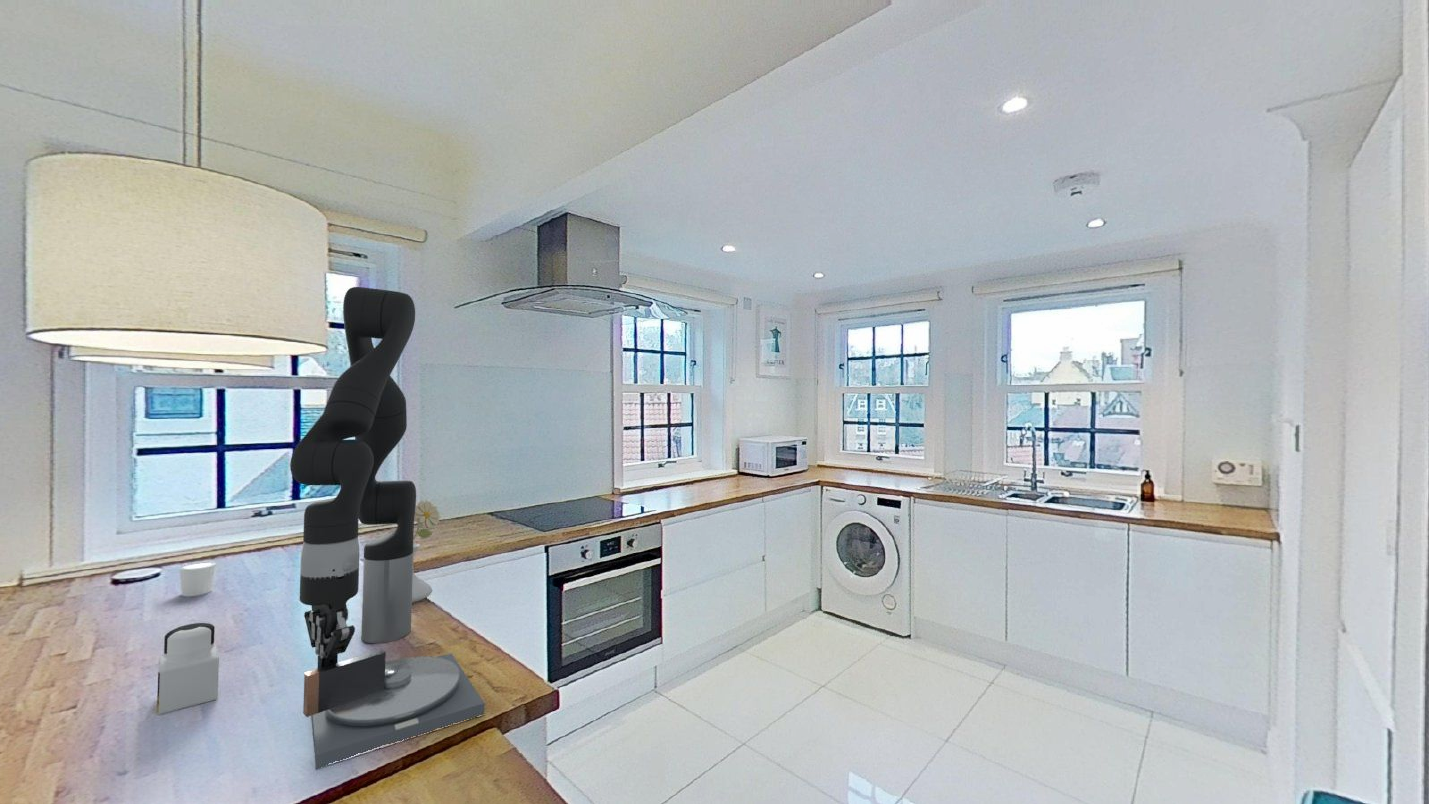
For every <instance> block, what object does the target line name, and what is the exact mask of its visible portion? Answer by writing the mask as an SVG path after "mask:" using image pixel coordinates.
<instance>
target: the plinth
mask: <svg viewBox="0 0 1429 804" xmlns="http://www.w3.org/2000/svg"><path fill="white" fill-rule="evenodd" d="M435 657H436V658H442V659H446V660H449V661H451V662H453V663H454V664H455V665H457V667H458V669H459V684H458V687H457V689H456V690H455V692H454V693H453V694H452V695H451V696H450V697H449V698H448V699H446V700H445V701H444V702H442V703H441V704H439V705H437V706H436V707H434V708H432V709H430V710H428V711H425V712H423V713H421V714H418V715H416V716H413V717H410V718H407V719H403V720H400V721H396V722H391V723H386V724H380V725H371V726H351V725H344V724H340V723H337V722H334V721H332V720H331V719H330V718H328V717H327V715H326V713H325V711H323V712H320V713H317V714H314V715H312V716H310V717H311V718H310V719H311V728H312V730H313V731H312V740H313V742H314V743H313V752H314V753H315V754H314V764H315V765H316V766H315V770H319V769H322V768H321V767H323V768H325V767H324V766H326V765H328V764H329V763H333V762H335V761H340V760H343V759H346V758H349V757H351V756H354V755H356V754H358V753H363V752H366V751H368V750H372V749H374V748H377V747H380V746H382V745H386V744H391V743H395V742H397V741H402V740H403V739H404V740H405V739H407V738H411V737H413V736H418V735H421V734H424V733H427V732H430V731H433V730H435V729H437V728H442V727H445V726H448V725H451V724H453V723H458V722H461V721H464V720H467V719H471V718H474V717H477V716H479V715H483V714H484V715H485V702H484V700H483V698H482V697H481V696H480V694H479V692H478V691H477V690H476V688H475V686H474V685H473V683H472V682H471V680H470V679H469V677H468V676H467V674H466V673H465V671H464V670H463V668H462V666H460V664H459V662H458V660H457V659H456V658H455V656H454V655H453V653H451V652H450V653H446V654H443V655H442V654H441V655H439V656H435ZM326 767H327V766H326ZM318 768H319V769H318Z"/></svg>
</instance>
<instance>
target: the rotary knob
mask: <svg viewBox="0 0 1429 804" xmlns="http://www.w3.org/2000/svg"><path fill="white" fill-rule="evenodd" d="M386 654H387V653H386V651H384V649H378V650H375V651H372V652H369V653H365V654H362V655H359V656H356V657H351V658H349V659H345V660H342V661H338V663H335V664H332V665H328V666H325V667H322V668H318V669H317V668H314V669H312V670H309V671H308V670H307V671H306V672H304V674H303V675H304V676H303V677H304V678H303V706H302V707H303V710H302V713H303V714H302V715H304V717H306V718H308V717H311V716H312V715H314V714H317V713H320V712H323V711H325V713H326V715H327V717H328V718H330V719H331V720H332V721H334V722H337V723H340V724H344V725H351V726H371V725H380V724H386V723H391V722H396V721H400V720H403V719H407V718H410V717H413V716H416V715H418V714H421V713H423V712H425V711H428V710H430V709H432V708H434V707H436V706H437V705H439V704H441V703H442V702H444V701H445V700H446V699H448V698H449V697H450V696H451V695H452V694H453V693H454V692H455V690H456V689H457V687H458V684H459V669H458V667H457V665H455V664H454V663H453V662H451V661H449V660H446V659H442V658H436V657H437V656H413V657H403V658H397V659H396V658H395V659H391V660H388V661H387V660H386Z"/></svg>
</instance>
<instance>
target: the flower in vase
mask: <svg viewBox="0 0 1429 804" xmlns="http://www.w3.org/2000/svg"><path fill="white" fill-rule="evenodd" d="M440 518H441V515H440V512H439V511H438V510H437V506H434V505H433V503H432V502H431V501H428V500H425V501H423V500H420V501H419V502H417V504H416V507H415V517H414V522H416V524H417V528H416V532H415V533H414V534H413V541H414V540H415V539H416V536H417V535H418V536H419V537H420V538H421V539H427V538H429V537H430V536H432V535H433V532H432V531H430V530H433V529H434V528H435V526H438V524H440V523H441V522H440ZM419 528H421V529H419ZM420 545H421V544H419V543H414V542H413V562H414V560H415V559H414V558H415V555H416V552H417V551H418V548H419V547H420ZM432 593H433V588H432V586H431V585H430V584H429V583H427V582H426V581H424V579H421V578H419V577H418V576H417V575H415V572H414V571H413V579H412V603H416V602H419V601H421V600H424V599H426V598H428V597H429V596H431V594H432Z"/></svg>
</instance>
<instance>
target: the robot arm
mask: <svg viewBox="0 0 1429 804" xmlns="http://www.w3.org/2000/svg"><path fill="white" fill-rule="evenodd" d="M342 315H343V317H342V318H343V324H344V327H343V328H344V333H345V339H346V345H347V351H348V358H349V363H350V365H349V367H348V368H347V369H346V370H345V371H344V372H342V373H341V374H340V375H339V377H338V378H337V379H336V380H335V382H334V384H333V386H332V388H331V390H330V394H329V396H328V398H327V401H326V404H325V407H324V409H323V412H322V414H321V415H320V417H318V419H317V420H316V421H315V423H314V424H313V425H312V426H311V428H310V429H309V430H308V431H307V433H306V434H305V435H304V436H303V437H302V439H301V440H300V441H299V442H298V443H297V445H296V447H295V448H294V451H293V453H292V455H291V457H290V463H289V469H290V470H289V471H290V473H291V475H292V477H293V479H294V480H295V481H296V482H297V483H298V484H300V485H305V486H340V489H339V492H338V494H337V495H336V496H335V497H332V498H327V499H322V500H317V501H314V502H312V503H309V504H308V505H307V506H306V507H305V509H304V516H303V538H302V539H303V542H302V548H301V555H300V572H299V576H300V578H299V601H300V603H301V604H303V605H305V606H310V607H311V610H307V611H304V615H303V617H304V619H305V625H306V629H307V632H308V636H309V637H308V638H309V643H310V646H311V648H312V649H314V648H315V651H314V652H315V655H316V656H317V666H316V667H317V668H316V669H318V668H322V667H325V666H328V665H332V664H335V663H338V662H339V661H338V658H339V657H338V656H339V655H340V654H343V653H345V652H346V651H347V649H348V647H349V645H350V642H351V640H352V639H353V637H354V635H355V632H356V628H355V626H354V625H348V624H347V621H348V620H349V609H348V607H347V606H348V605H347V602H349V600H350V599H352V598H355V596H356V595H357V594H358V592H359V579H360V578H359V577H360V543H359V522H360V523H361V524H363V525H366V526H367V525H368V526H369V525H370V526H375V525H376V526H377V525H394V524H396V525H397V527H396V528H395V529H394V530H393V531H391V532H390V533H388V534H385V535H383V536H381V537H377V538H375V539H372V540H370V541H368V542H367V543H366V544H365V545H364V548H363V570H362V571H363V574H362V575H363V577H362V578H363V580H362V603H361V604H362V605H361V606H362V607H361V608H362V609H361V610H362V611H361V632H360V633H361V637H360V638H361V640H362V641H363V642H365V643H367V644H381V643H388V642H393V641H396V640H400V639H402V638H404V637H406V636H407V635H409V634H410V633H411V631H412V609H413V607H412V606H413V602H412V579H413V572H414V561H413V543H414V540H413V537H414V534H415V533H414V529H415V528H414V527H415V520H414V518H415V507H416V505H417V490H416V485H415V483H414V482H413V481H412V480H381V481H380V480H378V481H377V479H376V476H377V474H378V471H379V470H380V468H381V466H382V464H383V463H384V461H385V460H386V458H387V457H388V456H389V455H390V454H391V453H392V451H393V450H394V449H395V448H396V447H397V445H398V444H399V442H400V441H401V440H402V439H403V437H404V435H405V433H406V431H407V427H408V426H407V401H406V397H405V395H404V392H403V391H402V390H401V388H400V387H399V384H397V382H396V381H395V379H393V377H392V376H391V374H392V373H393V370H394V369H395V367H396V365H397V363H398V361H399V359H400V358H401V355H402V354H403V352H404V349H405V348H406V346H407V344H408V341H409V340H410V338H411V335H412V333H413V329H414V327H415V322H416V307H415V303H414V299H413V298H412V296H410V295H409V294H407V293H405V292H401V291H395V290H386V289H382V288H381V289H380V288H379V289H378V288H370V287H361V286H352V287H350V288H349V289H348V290H347V291H346V292H345V295H344V298H343V304H342ZM373 339H380V342H379V343H378V344H377V345H376V346H375V347H374V343H373ZM350 438H354V440H349V439H350ZM346 439H348V440H346Z"/></svg>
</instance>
